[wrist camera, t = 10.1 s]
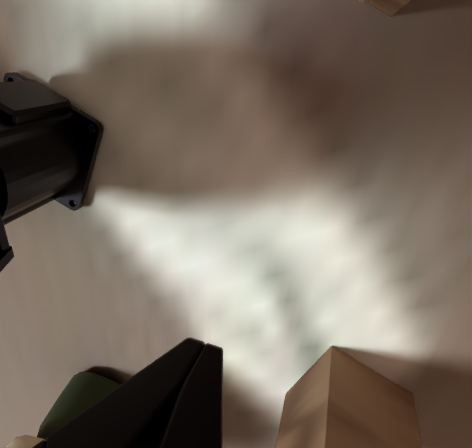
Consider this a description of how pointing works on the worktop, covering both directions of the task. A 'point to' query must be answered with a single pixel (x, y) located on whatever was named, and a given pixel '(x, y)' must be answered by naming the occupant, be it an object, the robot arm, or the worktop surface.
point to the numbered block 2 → (386, 5)
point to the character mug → (69, 405)
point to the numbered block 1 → (347, 408)
